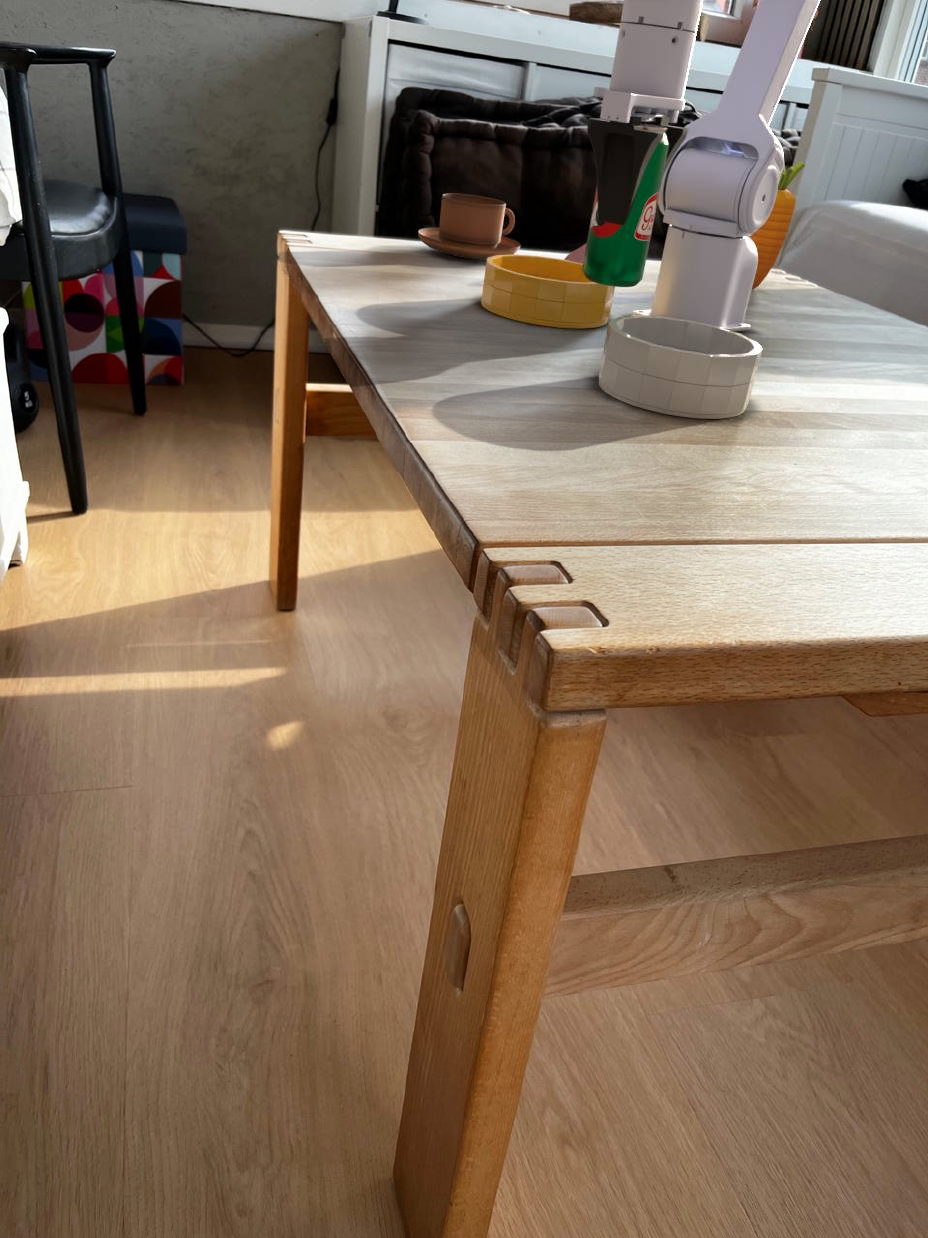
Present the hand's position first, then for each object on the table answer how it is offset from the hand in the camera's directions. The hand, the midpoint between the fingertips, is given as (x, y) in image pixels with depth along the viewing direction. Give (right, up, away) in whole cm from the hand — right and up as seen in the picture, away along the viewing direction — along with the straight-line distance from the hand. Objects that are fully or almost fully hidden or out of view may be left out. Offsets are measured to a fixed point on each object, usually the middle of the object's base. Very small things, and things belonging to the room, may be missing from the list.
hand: (622, 219), depth 83 cm
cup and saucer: (-13, +10, +37) cm, 40 cm away
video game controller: (+3, +7, +36) cm, 37 cm away
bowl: (-5, -3, +15) cm, 16 cm away
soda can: (-1, -4, +2) cm, 5 cm away
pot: (+3, -15, -6) cm, 17 cm away
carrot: (+22, +7, +41) cm, 47 cm away
